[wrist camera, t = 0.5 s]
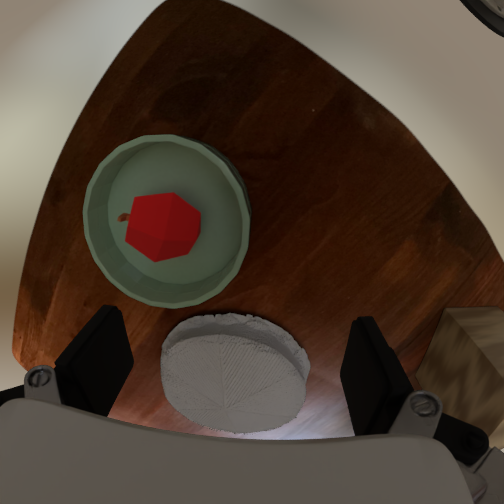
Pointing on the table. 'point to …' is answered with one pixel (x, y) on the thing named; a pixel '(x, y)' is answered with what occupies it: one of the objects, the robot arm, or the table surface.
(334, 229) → the table surface
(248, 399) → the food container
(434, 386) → the stand
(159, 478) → the robot arm
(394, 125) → the table surface
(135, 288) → the pale green round dish
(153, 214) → the apple
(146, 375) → the table surface
